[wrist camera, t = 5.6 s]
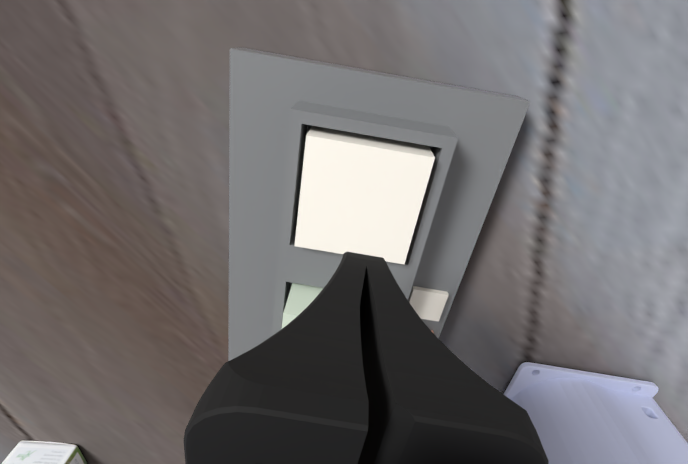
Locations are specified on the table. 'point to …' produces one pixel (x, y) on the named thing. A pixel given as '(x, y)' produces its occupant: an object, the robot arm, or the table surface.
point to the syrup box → (45, 453)
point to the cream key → (361, 193)
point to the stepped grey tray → (363, 118)
